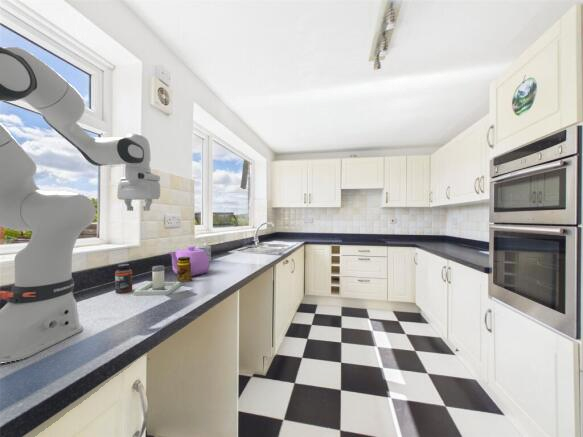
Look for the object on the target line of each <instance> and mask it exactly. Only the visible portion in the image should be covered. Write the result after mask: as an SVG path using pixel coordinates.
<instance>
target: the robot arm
mask: <svg viewBox="0 0 583 437" xmlns="http://www.w3.org/2000/svg"><path fill="white" fill-rule="evenodd" d="M20 100H22V101H24V102H25V103H26V104H28V105H30V107H32V108H33V109H34V110H36V111H37V112H38V113H40V114H41V116H42V118H43V119H44V121H45V123H46V124H48V126H49V127H51V128H52V129H53V130H54V131H55V132H56V133H58V135H60V136H61V137H62V138H63V139H65V141H67V142H68V143H70V145H72V146H73V147H74V148H76V150H78V151H79V152H80V154H81V155H82V156H83V157H84V159H85V160H86V161H87V162H88V163H90V164H91V165H93V166H96V167H102V166H112V165H113V166H114V165H115V166H116V165H125V166H124V177H121V179H120V180H119V183H118V186H117V193H116V194H117V195H116V197H117V199H118V200H121V201H122V200H124V204H125V207H126V211H127V212H130V211H132V212H133V211H134V205H133V206H132V202H133V200H134V201H135V200H144V202H145V204H144V205H143V206H142V207H143V211H144V212H145V211H146V212H147V211H148V212H149V211H150V210H151V206H152V204H153V200H158V199H160V198H161V184H160V180H161V176H160V175H157V174H155V173H152V172H151V167H150V162H151V147H150V143H149V140H148V139H147V138H146V137H145V136H143V135H140V134H137V133H129V134H127V135H126V136H123V137H122V136H120V137H118V136H117V137H97V136H96V137H95V136H92V135H91V134H89V133H88V132H87V131H85V130H84V129H83V127H82V126H80V125H79V124H78V123H77V122H79V121H80V120H81V119H82V117H83V115H84V113H85V109H86V108H85V100H84V98H83V96H82V95H81V94H80V92H79V91H78V90H77V89H76V88H75V87H74V86H73V85H71V84H70V83H69V82H68V81H67V80H66V79H65V78H64V77H62V75H60V74H59V73H58V72H57V71H55V70H54V69H53V68H52V67H51V66H49V65H48V64H46V62H44V61H43V60H41V59H40V58H39V57H38V56H36V55H34V54H33V53H31V52H30V51H29V50H26V49H24V48H22V47H17V46H6V47H1V46H0V102H15V101H20ZM36 172H37V165H36V163H35V161H34V160H33V159H32V157H31V156H30V155H29V154H28V153H27V151H25V149H24V148H23V147H22V146H21V145H20V143H19V142H18V141H17V140H16V139H15V138H14V136H13V135H12V134H11V133H10V131H9V130H8V129H7V128H6V127H5V126H4V125H3V124H2V123H1V122H0V228H3V229H8V230H12V231H17V232H32V233H31V236H30V239H29V242H27V245H26V246H25V247H24V248H22V249H21V250H20V251H18V252H17V253H16V254H15V256H14V285H12V288H11V289H10V290H6V291H5V290H0V300H6V301H7V303H6V304H5V305H4V306H3V307H2V308H0V363H1V362H10V363H12V362H11V361H15V362H17V361H16V360H19V361H21V360H20V359H22V360H24V358H25V359H27V358H29V357H31V356H33V355H36V354H37V353H39V352H41V351H43V350H45V349H48V348H49V347H52V346H53V345H56V344H57V343H60V342H62V341H63V340H66V339H68V338H70V337H72V336H74V335H76V334H78V333H80V332H83V330H84V328H83V325H82V324H80V319H79V313H78V312H79V311H78V304H77V300H76V299H75V296H74V293H73V291H74V289H75V281H74V278H73V277H72V272H73V271H72V263H73V250H74V247H75V244H76V242H77V240H78V238H79V236H81V233H82V232H83V231H84V230H85V229H86V228H88V227H89V226H90V225H92V224H93V222H94V220H95V218H96V214H97V212H96V211H97V210H96V206H95V204H94V202H93V201H92V199H91V198H89V197H88V196H86V195H84V194H80V193H75V192H70V191H67V190H66V191H61V190H60V191H57V190H56V191H54V190H53V191H51V190H50V191H49V190H48V191H47V190H46V191H44V190H42V189H41V188H39V186H37V184H36V183H35V180H34V178H33V177H34V176H35V174H36ZM26 357H27V358H26Z"/></svg>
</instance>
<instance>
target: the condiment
mask: <svg viewBox="0 0 583 437" xmlns="http://www.w3.org/2000/svg"><path fill="white" fill-rule="evenodd" d="M176 275H177V277H176V278H177V279H176V281H175V282H180V283H183V282H184V283H185V282H193V278H192V277H191V263H190V257H179V258H178V264H177V274H176Z"/></svg>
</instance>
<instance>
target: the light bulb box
mask: <svg viewBox="0 0 583 437" xmlns="http://www.w3.org/2000/svg"><path fill="white" fill-rule="evenodd" d="M194 247H195V249H200V250H204V251H205V252H206V254H207V257H208V260H209V263H210V262H212V246H211V245H200V246H194Z"/></svg>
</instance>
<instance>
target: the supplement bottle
mask: <svg viewBox="0 0 583 437" xmlns="http://www.w3.org/2000/svg"><path fill="white" fill-rule="evenodd" d="M114 282H115V283H114V286H115V290H114V291H115V293H117V294H125V293H128V292H131V291H132V290H133V270H132V269H131V268H130V264H129V263H122V264H118V265H117V270H116V271H115V273H114Z"/></svg>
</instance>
